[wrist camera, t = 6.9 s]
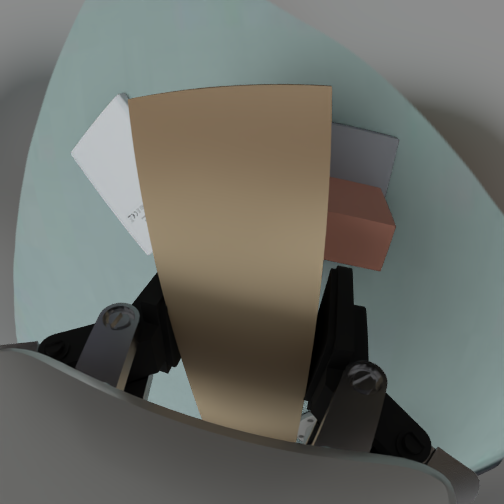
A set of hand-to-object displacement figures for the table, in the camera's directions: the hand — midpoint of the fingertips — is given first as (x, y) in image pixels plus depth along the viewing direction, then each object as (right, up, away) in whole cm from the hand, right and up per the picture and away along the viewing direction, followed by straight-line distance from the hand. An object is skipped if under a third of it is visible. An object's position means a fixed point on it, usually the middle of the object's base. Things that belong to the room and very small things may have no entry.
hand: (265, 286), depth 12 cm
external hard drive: (-10, +8, +14) cm, 19 cm away
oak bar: (0, 0, 0) cm, 0 cm away
